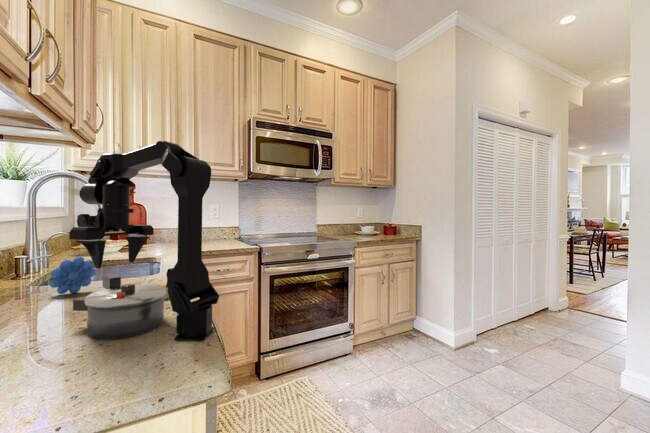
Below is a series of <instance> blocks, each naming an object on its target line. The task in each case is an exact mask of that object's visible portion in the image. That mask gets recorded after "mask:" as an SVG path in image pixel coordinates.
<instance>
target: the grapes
mask: <svg viewBox="0 0 650 433" xmlns="http://www.w3.org/2000/svg"><path fill="white" fill-rule="evenodd" d="M93 266H94V263H93V261H92V259H87V260H85V259H84V257H83V256H77V257H75V258H73V260H71V259H65V260H63V261H61V262H60V264H59V268H55V269H52V271H51V272H50V277H51V278H53V279H52V280H51V281H50V282H49V286H50V287H51V288H52V289H53V288H54V289H55V288H57V289H56V293H58V294H59V295H60V294H66V293H68V292H69V293H70V294H76V293H78V292H80V291H81V288H82V287H83V288H84V287H88V286H89V285H90V284H91V283H92V277H94V276H95V275H96V274H97V270H96V269H97V268H95V267H93Z"/></svg>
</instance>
